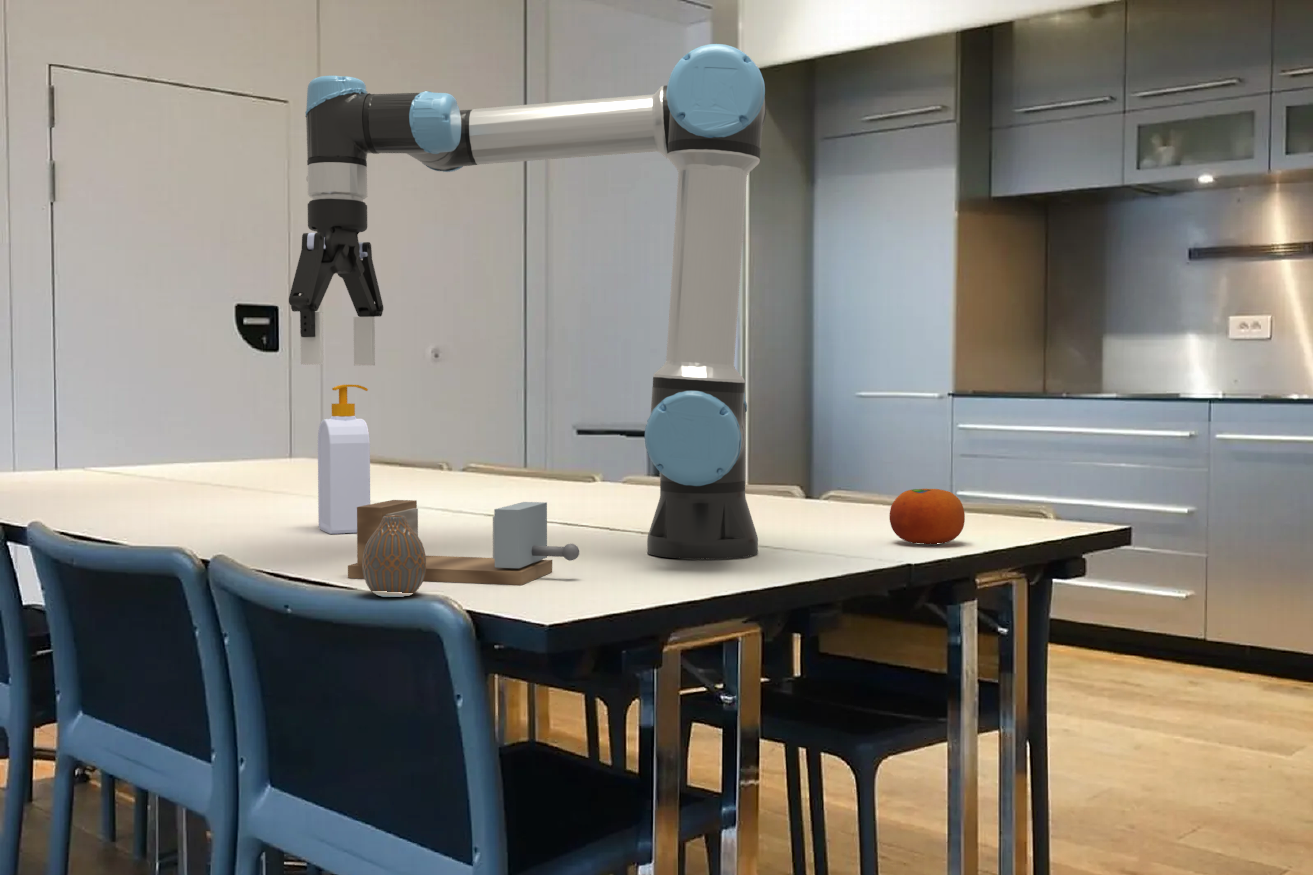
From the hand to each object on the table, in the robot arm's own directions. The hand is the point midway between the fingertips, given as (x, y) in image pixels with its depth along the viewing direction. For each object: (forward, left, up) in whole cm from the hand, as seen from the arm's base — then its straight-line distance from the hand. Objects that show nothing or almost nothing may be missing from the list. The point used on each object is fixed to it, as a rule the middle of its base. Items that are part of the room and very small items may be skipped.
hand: (339, 365), depth 178 cm
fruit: (-73, -39, -26) cm, 87 cm away
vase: (-19, +24, -26) cm, 40 cm away
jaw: (-30, +8, -24) cm, 39 cm away
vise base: (-19, +8, -26) cm, 33 cm away
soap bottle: (+16, -33, -26) cm, 45 cm away
